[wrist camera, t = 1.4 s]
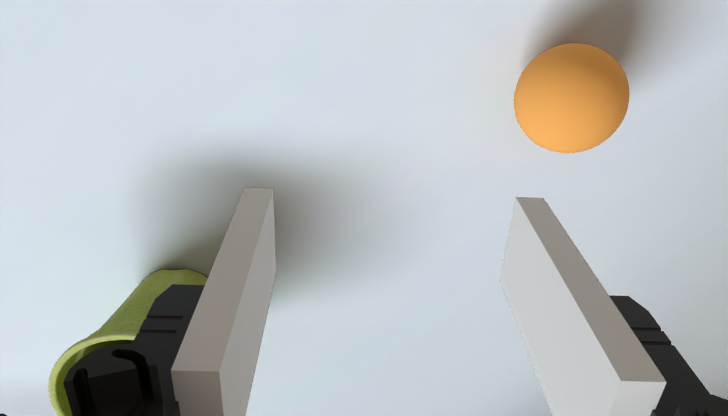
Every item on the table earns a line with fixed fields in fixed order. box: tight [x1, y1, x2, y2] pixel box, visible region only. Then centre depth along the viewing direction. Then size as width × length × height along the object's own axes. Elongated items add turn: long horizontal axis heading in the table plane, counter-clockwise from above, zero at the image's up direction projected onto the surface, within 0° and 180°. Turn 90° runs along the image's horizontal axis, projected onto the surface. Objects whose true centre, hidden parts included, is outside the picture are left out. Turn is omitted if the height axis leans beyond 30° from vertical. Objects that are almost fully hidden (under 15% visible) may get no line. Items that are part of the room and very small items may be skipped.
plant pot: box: [48, 269, 208, 416], centre depth 33 cm, size 9×9×9 cm
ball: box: [514, 43, 629, 153], centre depth 28 cm, size 6×6×6 cm
